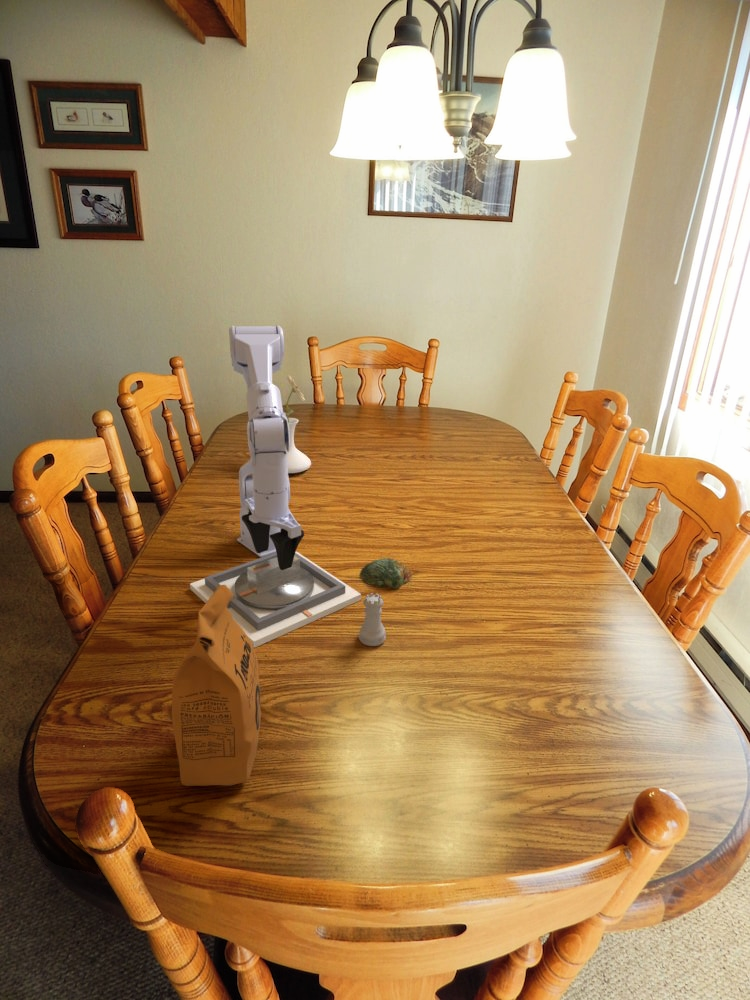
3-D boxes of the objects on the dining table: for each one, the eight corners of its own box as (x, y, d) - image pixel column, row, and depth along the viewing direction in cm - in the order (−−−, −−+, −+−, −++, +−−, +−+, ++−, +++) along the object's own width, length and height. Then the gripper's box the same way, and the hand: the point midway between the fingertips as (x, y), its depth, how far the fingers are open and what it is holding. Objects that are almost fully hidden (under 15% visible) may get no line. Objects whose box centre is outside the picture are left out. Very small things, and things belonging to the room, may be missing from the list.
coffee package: (273, 719, 84) (266, 579, 76) (251, 796, 73) (240, 641, 64) (200, 714, 85) (185, 574, 76) (168, 790, 73) (145, 636, 65)
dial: (220, 584, 112) (218, 558, 110) (285, 560, 121) (284, 536, 119) (262, 619, 103) (260, 592, 101) (329, 590, 111) (329, 565, 109)
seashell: (402, 543, 124) (419, 568, 115) (403, 561, 125) (419, 587, 117) (353, 551, 122) (366, 578, 113) (355, 569, 123) (368, 597, 114)
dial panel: (190, 589, 113) (189, 576, 112) (291, 553, 127) (291, 541, 126) (254, 647, 98) (253, 633, 97) (360, 599, 112) (361, 586, 111)
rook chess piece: (370, 627, 104) (371, 586, 101) (391, 638, 102) (393, 596, 98) (352, 639, 101) (353, 597, 98) (374, 651, 98) (375, 608, 95)
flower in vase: (308, 477, 164) (307, 384, 154) (265, 476, 165) (261, 382, 154) (314, 460, 176) (313, 372, 166) (274, 459, 176) (270, 371, 166)
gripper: (227, 480, 107) (232, 550, 112) (274, 508, 97) (277, 583, 102) (263, 471, 111) (266, 539, 116) (311, 497, 101) (312, 570, 106)
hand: (273, 559), depth 110 cm, fingers open, 7 cm apart
